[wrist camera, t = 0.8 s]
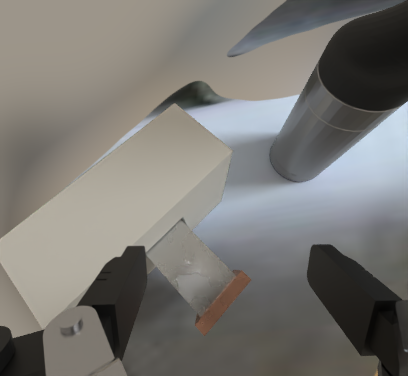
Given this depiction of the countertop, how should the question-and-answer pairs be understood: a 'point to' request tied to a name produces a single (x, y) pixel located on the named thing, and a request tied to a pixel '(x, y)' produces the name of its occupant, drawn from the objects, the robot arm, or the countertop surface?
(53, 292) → the key box
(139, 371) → the countertop surface
